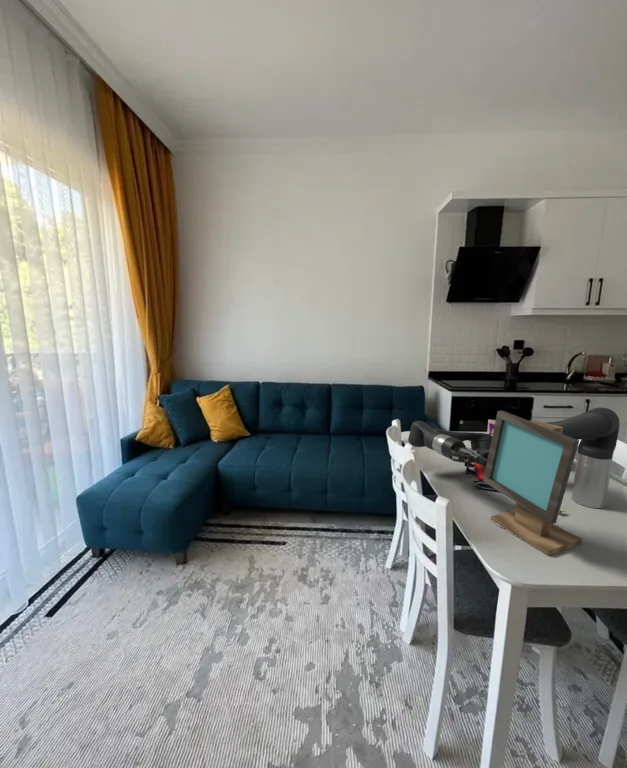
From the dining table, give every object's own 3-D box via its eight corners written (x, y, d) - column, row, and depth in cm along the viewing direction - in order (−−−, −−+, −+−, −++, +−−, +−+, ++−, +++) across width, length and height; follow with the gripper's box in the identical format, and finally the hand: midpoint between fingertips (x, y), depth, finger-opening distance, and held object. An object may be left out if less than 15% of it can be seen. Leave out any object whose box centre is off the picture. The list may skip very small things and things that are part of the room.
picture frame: (487, 480, 110) (502, 410, 104) (555, 522, 91) (579, 440, 84) (483, 481, 110) (497, 411, 103) (550, 524, 90) (574, 441, 84)
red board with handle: (469, 488, 129) (514, 495, 124) (470, 481, 128) (515, 488, 123) (463, 461, 157) (499, 466, 152) (463, 455, 156) (500, 460, 151)
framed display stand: (521, 512, 112) (531, 414, 107) (581, 543, 96) (597, 430, 90) (490, 520, 107) (499, 418, 101) (548, 555, 90) (563, 436, 85)
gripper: (461, 454, 127) (502, 472, 112) (433, 459, 122) (472, 478, 107) (462, 434, 126) (504, 450, 110) (434, 439, 121) (473, 455, 105)
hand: (488, 464), depth 108 cm, fingers closed
